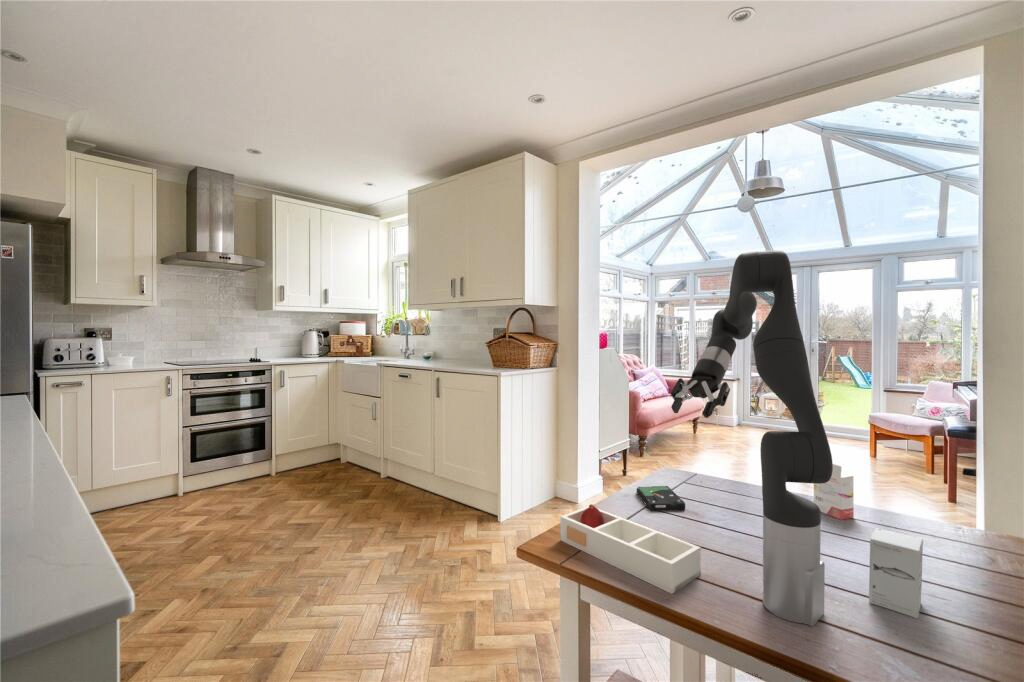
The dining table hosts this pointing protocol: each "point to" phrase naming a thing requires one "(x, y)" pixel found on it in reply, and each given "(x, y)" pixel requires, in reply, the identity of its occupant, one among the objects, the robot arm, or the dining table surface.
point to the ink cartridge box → (836, 495)
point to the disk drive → (660, 498)
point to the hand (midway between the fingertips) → (689, 413)
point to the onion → (592, 517)
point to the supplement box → (896, 571)
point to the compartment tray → (635, 549)
